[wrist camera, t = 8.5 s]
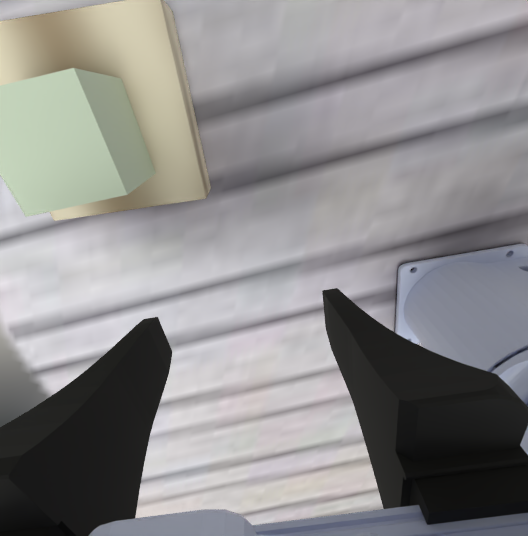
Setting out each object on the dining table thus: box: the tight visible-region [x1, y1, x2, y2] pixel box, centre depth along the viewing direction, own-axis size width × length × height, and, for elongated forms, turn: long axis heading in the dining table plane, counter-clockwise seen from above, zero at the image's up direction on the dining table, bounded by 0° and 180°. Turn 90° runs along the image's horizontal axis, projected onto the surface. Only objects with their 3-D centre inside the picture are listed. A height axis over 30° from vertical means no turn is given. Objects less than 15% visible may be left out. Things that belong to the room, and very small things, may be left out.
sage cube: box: [0, 68, 156, 217], centre depth 13 cm, size 4×4×4 cm
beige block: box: [0, 0, 211, 221], centre depth 17 cm, size 9×9×3 cm
